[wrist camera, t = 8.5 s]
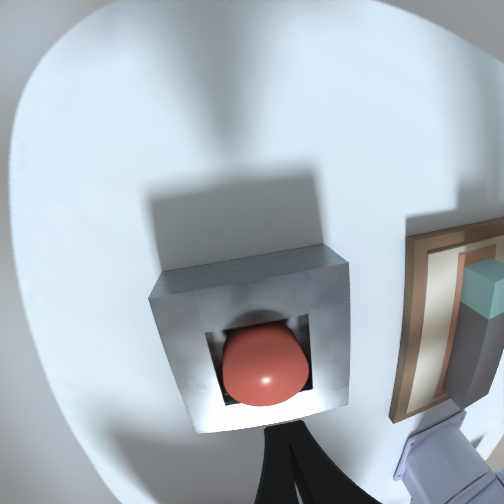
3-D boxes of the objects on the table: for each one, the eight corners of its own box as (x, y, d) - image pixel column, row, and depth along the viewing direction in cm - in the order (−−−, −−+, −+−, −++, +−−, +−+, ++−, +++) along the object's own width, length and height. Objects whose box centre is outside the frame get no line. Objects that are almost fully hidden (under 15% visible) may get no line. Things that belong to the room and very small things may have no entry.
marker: (464, 384, 20) (483, 403, 17) (439, 397, 20) (457, 419, 17) (490, 257, 17) (520, 270, 14) (463, 266, 17) (495, 282, 14)
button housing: (330, 371, 19) (347, 404, 16) (198, 396, 19) (197, 433, 15) (323, 243, 17) (348, 262, 13) (161, 272, 16) (148, 298, 13)
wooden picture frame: (483, 371, 22) (490, 377, 21) (388, 416, 21) (394, 426, 20) (510, 215, 18) (521, 218, 16) (405, 237, 17) (417, 242, 16)
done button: (300, 372, 16) (310, 397, 14) (230, 386, 16) (232, 412, 14) (294, 311, 15) (306, 333, 13) (215, 326, 15) (214, 350, 13)
